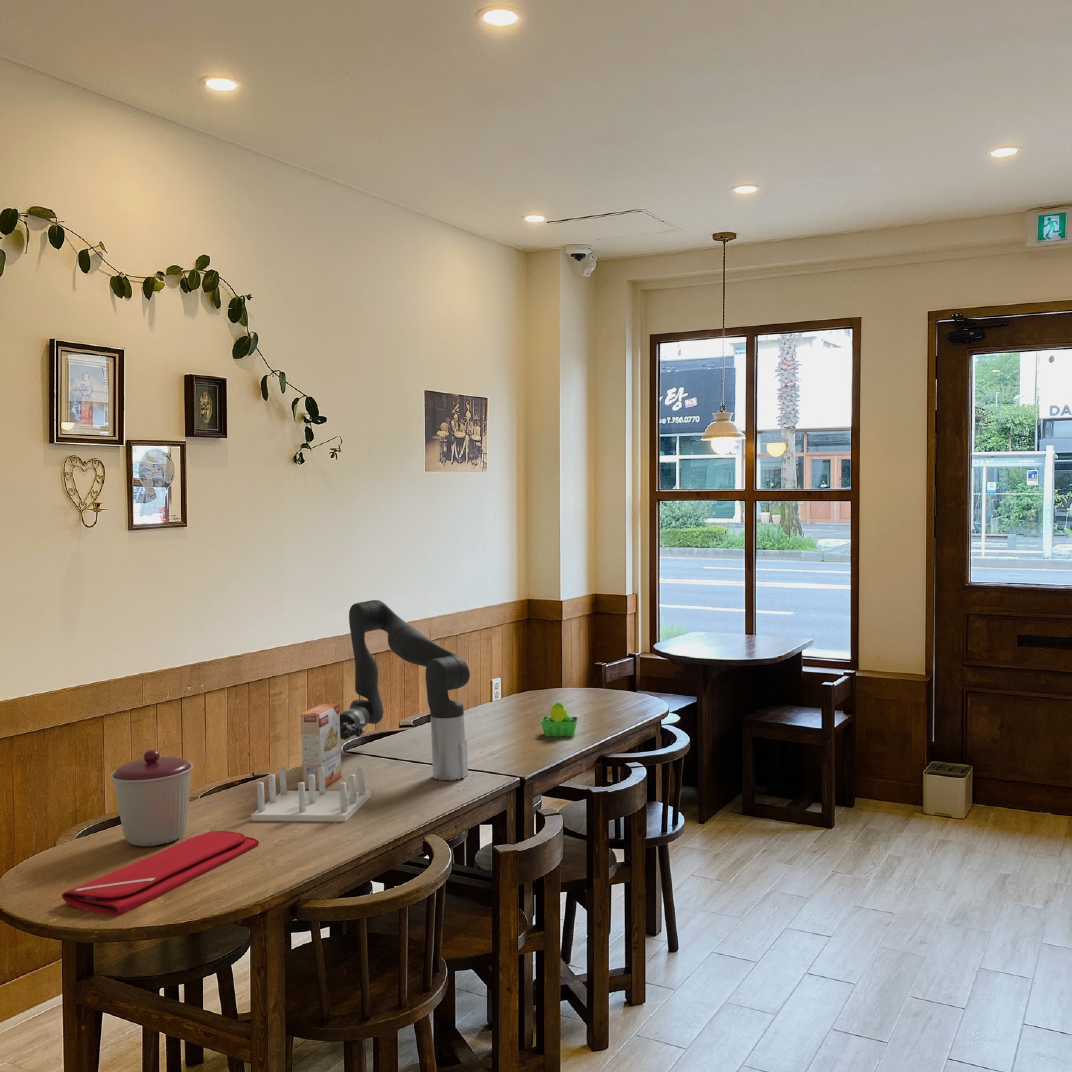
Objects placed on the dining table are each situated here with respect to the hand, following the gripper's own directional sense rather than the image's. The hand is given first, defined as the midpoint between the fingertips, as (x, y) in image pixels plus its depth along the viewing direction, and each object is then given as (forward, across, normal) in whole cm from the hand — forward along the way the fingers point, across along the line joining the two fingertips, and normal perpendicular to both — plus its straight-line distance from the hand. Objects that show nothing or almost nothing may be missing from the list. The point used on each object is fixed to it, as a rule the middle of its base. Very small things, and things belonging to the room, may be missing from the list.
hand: (329, 736), depth 284 cm
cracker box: (+6, 0, +12) cm, 13 cm away
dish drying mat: (+73, -10, +12) cm, 75 cm away
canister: (+53, -24, +12) cm, 59 cm away
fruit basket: (-49, +59, +12) cm, 77 cm away
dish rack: (+28, +5, +12) cm, 31 cm away
